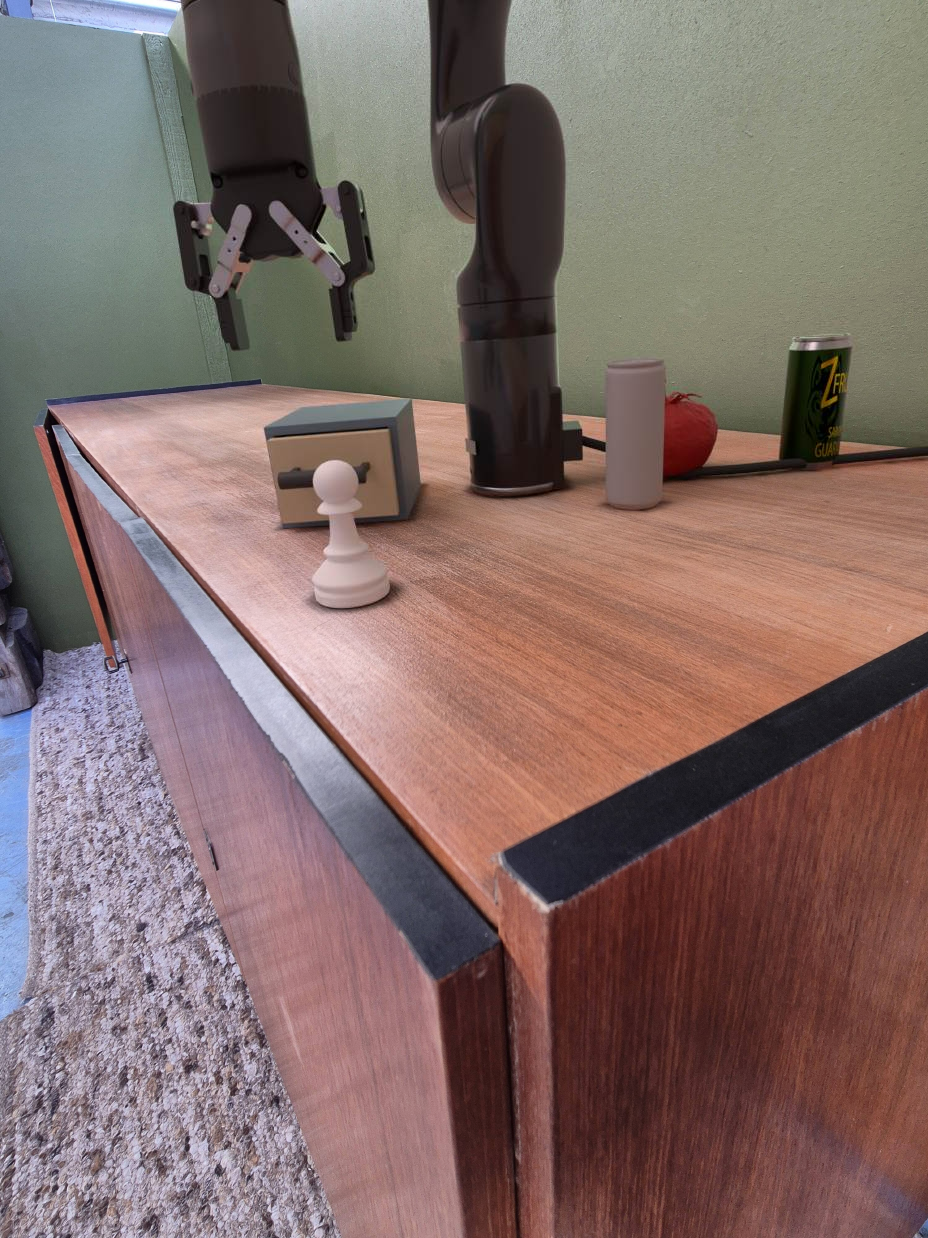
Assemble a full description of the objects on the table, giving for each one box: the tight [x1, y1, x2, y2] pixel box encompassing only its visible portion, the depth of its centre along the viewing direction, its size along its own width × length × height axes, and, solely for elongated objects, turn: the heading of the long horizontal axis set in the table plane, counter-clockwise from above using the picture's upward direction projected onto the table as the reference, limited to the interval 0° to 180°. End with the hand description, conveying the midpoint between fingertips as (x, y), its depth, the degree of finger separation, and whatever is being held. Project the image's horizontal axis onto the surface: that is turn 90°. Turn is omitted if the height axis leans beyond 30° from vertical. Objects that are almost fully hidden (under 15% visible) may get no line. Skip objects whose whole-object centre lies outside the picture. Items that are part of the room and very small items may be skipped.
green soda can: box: [778, 332, 853, 471], centre depth 69 cm, size 5×5×12 cm
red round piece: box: [663, 378, 719, 478], centre depth 71 cm, size 10×10×9 cm
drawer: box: [266, 427, 399, 524], centre depth 65 cm, size 17×10×7 cm, turn 178°
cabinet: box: [263, 397, 422, 529], centre depth 69 cm, size 14×12×9 cm
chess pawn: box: [311, 460, 391, 609], centre depth 46 cm, size 5×5×9 cm
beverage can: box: [604, 357, 667, 511], centre depth 61 cm, size 5×5×12 cm
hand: (291, 345), depth 56 cm, fingers open, 8 cm apart
